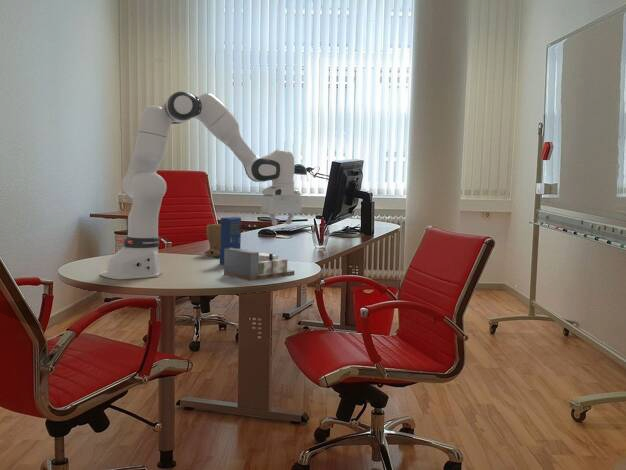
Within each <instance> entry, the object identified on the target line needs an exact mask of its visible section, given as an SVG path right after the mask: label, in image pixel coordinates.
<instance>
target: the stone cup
mask: <svg viewBox="0 0 626 470" xmlns="http://www.w3.org/2000/svg"><path fill="white" fill-rule="evenodd" d="M205 234H206V237H207V241H208V242H209V249H207V250H206V251H204V254H205V255H206V256H208V257H211V258H217V257H220V248H221V223H213V224H207V225H206V232H205Z"/></svg>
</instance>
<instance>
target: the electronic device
mask: <svg viewBox="0 0 626 470" xmlns="http://www.w3.org/2000/svg"><path fill="white" fill-rule="evenodd" d="M220 224H221V248H220V256H219V265H221V266H224V248H237V249H241V242H242V241H241V239H242V235H241V232H242V218H241V217H239V216H231V217H229V216H228V217H221V218H220Z"/></svg>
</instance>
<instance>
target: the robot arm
mask: <svg viewBox="0 0 626 470" xmlns="http://www.w3.org/2000/svg"><path fill="white" fill-rule="evenodd" d="M166 99H167V100H166V101H165V102H164V103H163V105H160V106H159V105H148V106H147V107H145V108H144V110H143V112H142V115H141V117H140V120H139V124H138V129H137V133H136V140H135V145H134V150H133V154H132V156H131V159H130V162H129V165H128V168H127V171H126V173H125V174H124V176H123V178H122V179H121V188H122V191H123V192H124V193H125V194H126V195H127V196H128V197H129V198H131V199H132V203H131V208H130V212H129V213H128V217H127V236H126V238H122V237H119V238H118V239H117V241H118V243H119V244H123V247H121V248H120V249H119V250H118V251H117V252H116V253H114V254H113V255H112V256H111V257H109V259H108V263H107V266H106V267H107V268H106V270H103V271H101V272H100V275H101V276H102V277H104V278H108V279H114V280H130V279H133V280H134V279H144V278H145V279H146V278H155V277H157V278H158V277H159V276H160V275H161V274H162V270H161V265H160V259H159V247H160V237H159V217H160V216H159V214H160V210H161V206H162V201H163V197H165V194H166V192H167V187H168V186H167V182H166V180H165V179H164V178H163V177H162V176H161V175H160V174H158V173H157V171H158V169H159V167H160V165H161V163H162V161H164V158H165V154H166V147H167V142H168V135H169V131H170V130H169V129H170V128H171V125H176V124H177V125H178V124H183V123H186V122H188V121H190V120H191V119H197V120H198V121H200V122H201V123H202V125H204V127H205V128H206V129H207V130H208V131H209V132H210V133H211V134H212V136H213V137H215V138H216V139H218V140H219V141H220V142H221V143H223V144H224V145H225V146H226V147H228V148H229V149H230V150H231V152H233V153H232V154H234V155H235V156H236V157H237V158H238V160H239V161H240V162H241V163H242V165H243V168H244V172H245V174H246V177H248V179H250V180H251V181H253V182H256V183H259V182H260V183H262V182H268V181H271V185H270V186H268V187H266V188H264V189H263V188H262V192H261V193H262V195H263V196H262V198H261V213H262V215H269V218H270V220H271V225H272V226H277V225H278V220H277V219H276V217H277V215H281V214H282V215H284V214H287V219H285V224H286V225H292V220H293V218H294V216H295V214H301V212H302V209H303V208H302V207H303V204H302V197H301V193H300V191H299V190H294V189H295V181H294V175H295V157H294V154H293V153H292V152H291V151H288V150H283V149H275V150H274V151H273V152H271V153H269V154H266V155H264V156H258V155H257V154H255V153H254V151H253V150H252V149H251V148H250V147H249V145H248V144H247V143H246V142H245V141H244V138H243V137H242V136H241V133H240V125H239V122H238V121H237V119H236V118H235V116H234V115H233V113H232V112H231V111H230V110H229V109H228V107H227V106H226V105H225V104H224V103H223V102H222V101H221V100H219V99H218V98H217V97H216V96H215V95H214V94H212V93H209V92H204V93H202V94H200V95H198V96H197V95H194V94H191V93H189V92H187V91H183V90H182V91H181V90H180V91H176V92H174V93H172V94H171V95H170V96H169V97H167V98H166Z"/></svg>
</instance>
